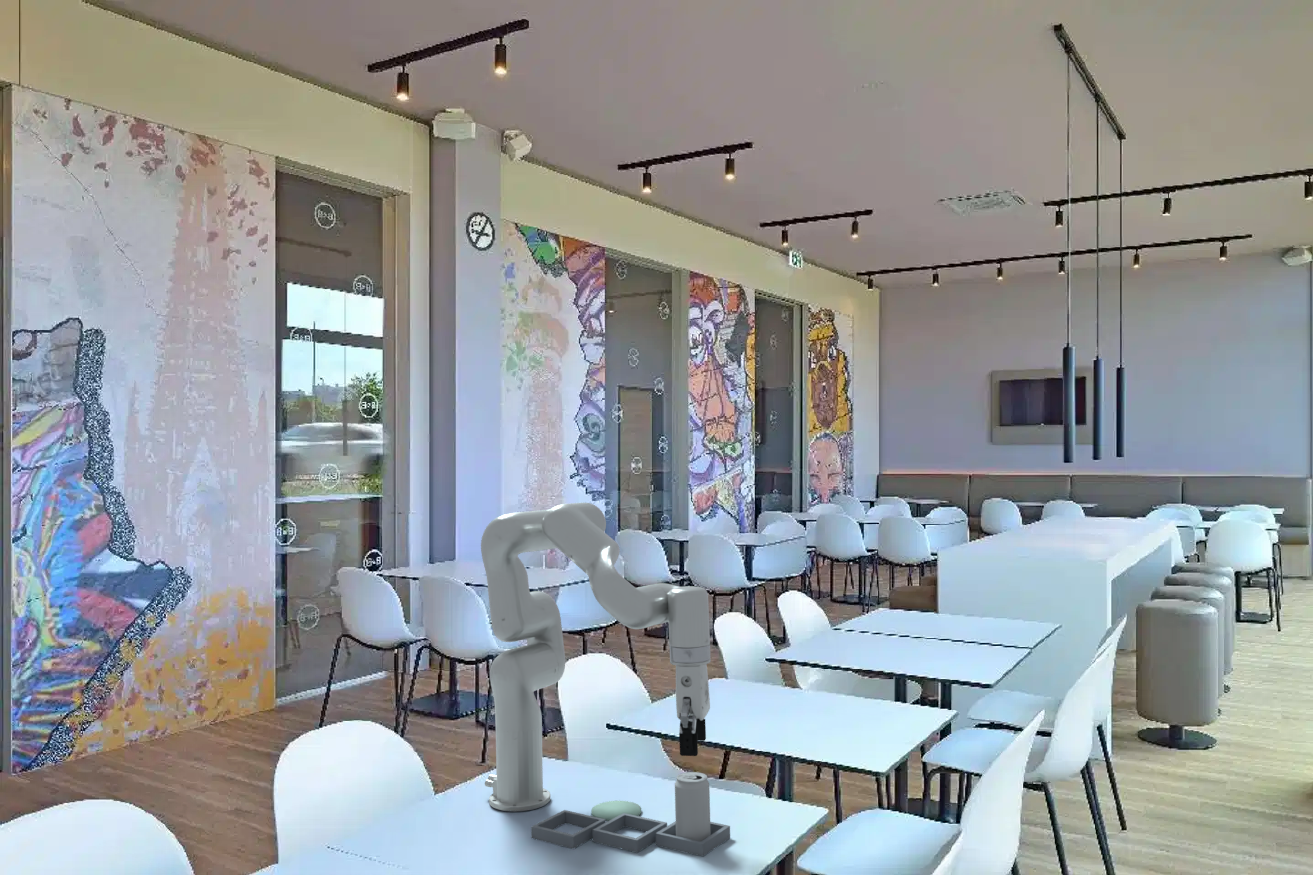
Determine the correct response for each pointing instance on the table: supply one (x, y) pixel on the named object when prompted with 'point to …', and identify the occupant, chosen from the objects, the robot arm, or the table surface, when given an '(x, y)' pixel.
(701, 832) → the beverage can
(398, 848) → the table surface
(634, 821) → the tray
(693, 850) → the tray
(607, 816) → the coaster
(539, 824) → the tray
